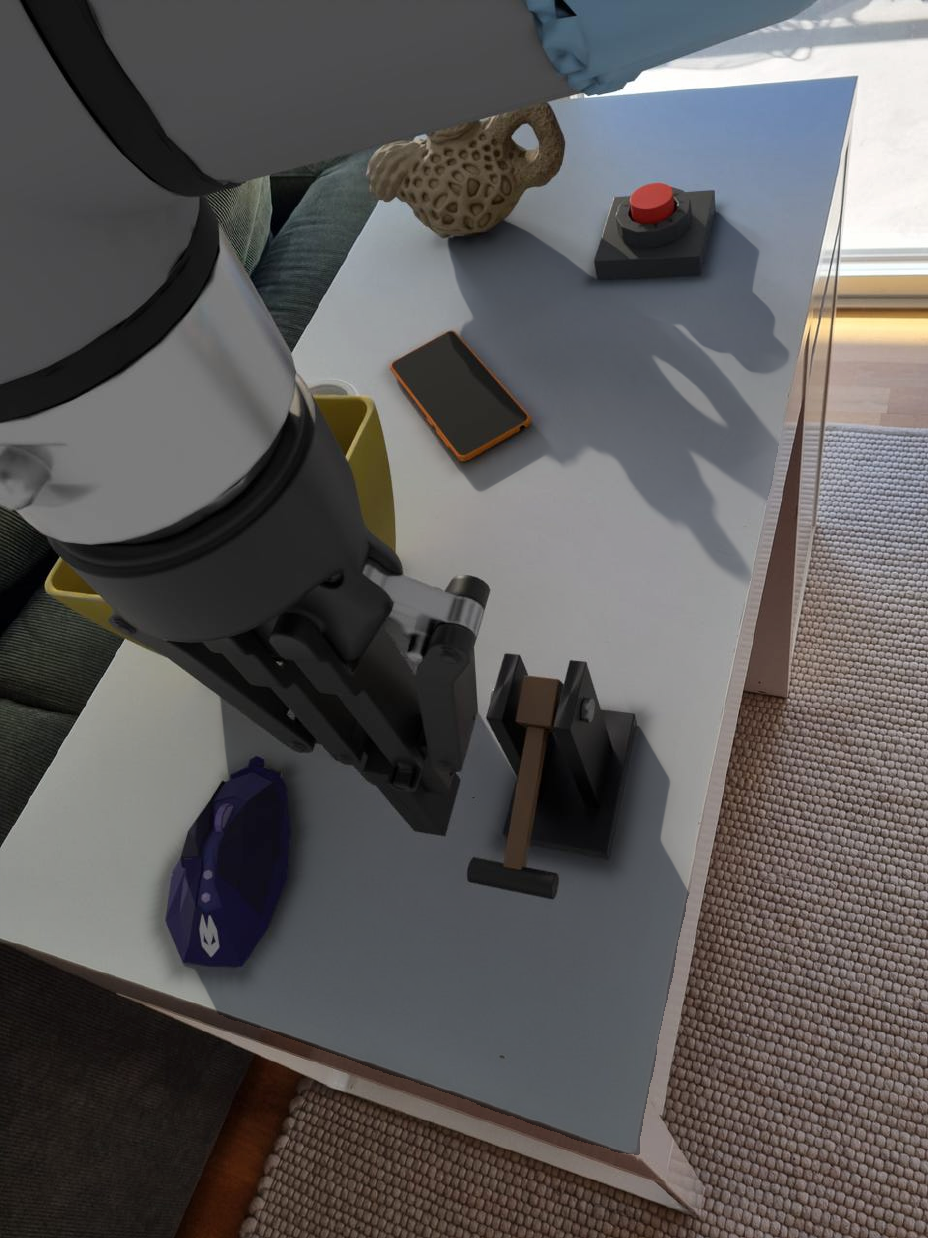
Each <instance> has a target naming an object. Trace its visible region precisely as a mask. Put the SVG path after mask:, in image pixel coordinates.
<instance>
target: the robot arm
mask: <svg viewBox="0 0 928 1238" xmlns="http://www.w3.org/2000/svg"><path fill="white" fill-rule="evenodd" d="M816 2H818V0H0V506H1V507H3V508H4V509H7V510H8V511H15V512H17V513H18V515H19V516H21V518H23V520H25V521H26V522H27V523H28V524H29V525H30V526H32V527H33V528H34V529H35V530H36V531H38V532H39V533H41V534H42V535H45V536H46V538H47V541H48V543H49V545H50V546H51V548H52V549H53V551H54V552H55V553H56V554H57V555H58V557H59V558H60V557H61V558H62V559H63V560H64V561H65V562H66V563H67V564H68V565H69V566H70V567H71V568H72V569H73V570H74V571H75V572H76V573H77V574H78V575H79V576H80V577H81V578H82V579H83V580H84V581H85V582H86V583H87V584H88V585H89V586H90V587H91V588H92V589H93V590H94V591H95V592H96V593H97V594H98V595H99V596H100V597H101V598H102V599H104V600H105V601H106V602H107V603H108V604H109V605H110V606H111V607H112V608H113V609H114V610H113V612H112V614H111V616H110V618H109V620H108V621H109V624H110V625H111V626H112V627H113V628H115V629H116V630H118V631H119V632H121V633H122V634H125V635H127V636H129V637H131V638H133V639H135V640H136V641H138V642H140V643H142V644H144V645H146V646H148V647H150V648H151V649H153V650H155V651H157V652H159V653H161V654H163V655H164V656H166V657H165V658H167V659H168V660H169V661H171V662H172V663H174V664H175V665H177V666H178V667H179V668H180V669H182V670H183V671H184V672H186V673H187V674H188V675H190V676H191V677H192V678H194V679H195V680H197V681H198V682H200V684H202V685H203V686H205V687H206V688H207V689H209V690H210V691H212V692H213V693H214V694H216V695H217V696H218V697H219V698H221V699H222V700H223V701H225V702H227V704H229V705H231V706H232V707H233V708H234V709H236V710H237V711H239V712H240V713H241V714H242V715H244V716H245V717H247V718H248V719H249V720H251V721H252V722H254V724H256V725H257V726H259V727H260V728H262V729H263V730H264V731H265V732H267V733H268V734H270V735H271V736H272V737H274V738H275V739H276V740H278V741H279V742H280V743H282V744H283V745H284V746H286V747H288V748H289V749H290V750H292V751H294V752H296V753H300V754H303V753H304V754H311V753H312V752H313V751H314V749H315V746H316V745H320V746H321V747H323V749H324V750H325V751H326V753H327V754H328V755H329V756H330V757H331V758H332V759H333V760H334V761H335V762H338V763H339V764H342V765H345V766H352V767H353V768H354V769H355V770H356V771H357V772H358V773H359V775H360V776H361V777H362V778H363V779H364V781H366V782H367V783H369V784H370V785H372V786H375V788H377V790H378V791H379V792H380V793H381V794H382V795H383V797H384V798H385V799H386V800H387V801H388V802H389V804H390V805H391V806H392V807H393V808H394V809H395V810H396V812H397V813H398V814H399V815H400V816H401V818H402V819H403V820H404V821H405V822H406V824H407V825H408V826H409V828H411V830H412V831H413V832H416V833H422V834H428V835H433V836H440V837H444V838H445V837H446V836H447V832H448V828H449V824H450V821H451V817H452V813H453V810H454V806H455V803H456V798H457V796H458V791H459V789H460V785H461V781H462V779H461V778H460V776H459V774H458V773H460V772H461V771H462V770H463V767H464V763H465V759H466V756H467V753H468V750H469V749H468V748H469V745H470V741H471V738H472V734H473V731H474V727H475V723H476V719H477V715H478V711H479V706H478V704H479V703H478V687H477V673H476V654H475V646H476V642H477V639H478V636H479V632H480V630H481V625H482V622H483V618H484V615H485V611H486V608H487V605H488V604H487V603H488V600H489V597H490V594H491V588H490V586H489V584H488V583H487V582H486V581H485V580H483V579H481V578H480V577H477V576H473V575H471V574H459V575H455V576H453V578H451V580H450V581H449V583H448V585H447V586H446V588H445V589H444V590H443V589H442V588H440V587H438V586H432V585H429V584H427V583H424V582H422V581H419V580H417V579H415V578H412V577H409V576H407V575H404V568H403V564H402V561H401V559H400V557H399V556H398V554H397V552H396V553H395V552H394V551H393V550H392V549H391V548H390V547H389V546H388V545H386V544H385V543H384V542H382V541H381V540H380V539H378V538H377V537H376V536H375V535H374V534H373V533H372V532H371V531H370V530H369V529H368V528H367V527H366V525H365V523H364V520H363V516H362V512H361V508H360V503H359V498H358V493H357V488H356V484H355V480H354V476H353V473H352V470H351V467H350V465H349V463H348V460H347V459H346V457H345V455H344V453H343V451H342V449H341V447H340V446H339V444H338V442H337V440H336V438H335V436H334V434H333V433H332V431H331V429H330V427H329V425H328V423H327V421H326V420H325V418H324V416H323V414H322V412H321V410H320V408H319V407H318V405H317V403H316V401H315V399H314V397H313V395H314V394H313V395H312V392H311V390H310V388H309V386H308V385H307V383H306V381H305V380H304V379H303V377H302V376H301V375H300V374H299V373H298V372H297V370H296V366H295V362H294V359H293V358H294V357H293V354H292V351H291V349H290V347H289V345H288V344H287V342H286V340H285V338H284V337H283V334H282V333H281V331H280V329H279V328H278V326H277V324H276V322H275V321H274V318H273V317H272V315H271V313H270V312H269V309H268V308H267V306H266V303H264V301H263V299H262V297H261V295H260V294H259V292H258V290H257V288H256V286H255V285H254V282H253V281H252V279H251V277H250V275H249V274H248V272H247V270H246V268H245V267H244V264H243V263H242V261H241V259H240V258H239V256H238V254H237V252H236V250H235V248H234V247H233V245H232V243H231V241H230V239H229V237H228V236H227V234H226V232H225V230H224V228H223V227H222V225H221V224H220V221H219V220H218V218H217V217H218V216H216V213H215V212H214V210H213V207H212V206H211V204H210V202H209V200H208V199H207V195H212V194H215V193H219V192H222V191H226V190H231V189H234V188H238V187H241V186H242V185H243V184H246V183H247V182H249V181H253V180H256V179H260V178H265V177H267V176H271V175H275V174H279V173H283V172H287V171H290V170H294V169H298V168H301V167H305V166H309V165H313V164H317V163H322V162H325V161H329V160H332V159H337V158H339V157H340V158H341V157H343V156H348V155H351V154H355V153H359V152H364V151H367V150H370V149H375V148H377V147H382V146H383V145H386V144H390V143H393V142H397V141H406V140H408V139H413V138H416V137H419V136H420V137H421V136H423V135H426V134H428V133H431V132H435V131H439V130H443V129H447V128H450V127H454V126H458V125H462V124H466V123H469V122H473V121H477V120H481V121H482V120H485V119H487V118H489V117H492V116H496V115H500V114H504V113H508V112H511V111H515V110H519V109H523V108H527V107H530V106H534V105H538V104H542V103H546V102H548V103H549V102H553V101H557V100H560V99H565V98H569V97H573V96H576V95H579V94H584V95H585V96H587V97H591V96H595V95H596V96H601V95H607V94H610V93H615V92H619V91H621V90H624V88H625V87H626V85H627V84H629V83H632V82H635V81H636V80H637V79H638V78H639V76H640V75H641V74H642V73H643V72H645V71H649V70H651V69H654V68H656V67H659V66H662V65H664V64H667V63H670V62H673V61H675V60H678V59H680V58H684V57H686V56H690V55H692V54H695V53H697V52H700V51H703V50H705V49H708V48H711V47H713V46H716V45H719V44H721V43H722V44H723V43H725V42H727V41H730V40H733V39H736V38H739V37H742V36H745V35H747V34H750V33H751V34H752V33H753V32H756V31H759V30H762V29H765V28H768V27H771V26H774V25H777V24H779V23H784V22H785V21H789V20H791V19H793V18H795V17H796V16H797V17H798V15H800V14H801V13H802V12H804V11H805V10H807V9H809V8H811V7H812V6H813V5H814V4H816ZM388 618H391V619H392V620H394V621H395V622H397V624H398V625H400V627H401V632H402V636H403V637H404V638H405V639H406V641H408V642H409V643H408V646H407V649H406V652H405V657H406V658H405V657H404V655H403V654H402V652H401V651H400V648H399V647H398V646H397V644H396V642H395V641H394V639H393V638H392V636H391V634H390V633H389V631H388V630H387V627H386V621H387V620H388ZM164 656H163V657H164ZM407 660H408V661H409V662H410V663H414V664H418V665H417V667H416V671H415V673H414V671H413V670H412V668H411V666H410V664H409V663H408V661H407ZM289 711H291V713H292V717H290V716H289V715H288V714H289Z"/></svg>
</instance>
